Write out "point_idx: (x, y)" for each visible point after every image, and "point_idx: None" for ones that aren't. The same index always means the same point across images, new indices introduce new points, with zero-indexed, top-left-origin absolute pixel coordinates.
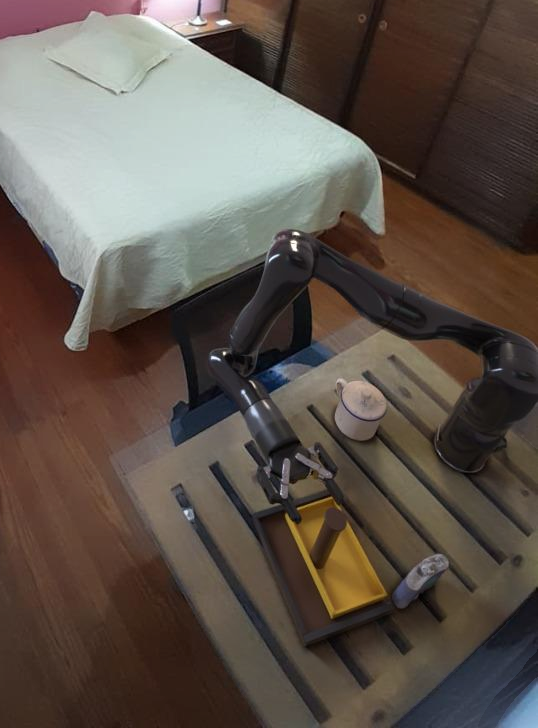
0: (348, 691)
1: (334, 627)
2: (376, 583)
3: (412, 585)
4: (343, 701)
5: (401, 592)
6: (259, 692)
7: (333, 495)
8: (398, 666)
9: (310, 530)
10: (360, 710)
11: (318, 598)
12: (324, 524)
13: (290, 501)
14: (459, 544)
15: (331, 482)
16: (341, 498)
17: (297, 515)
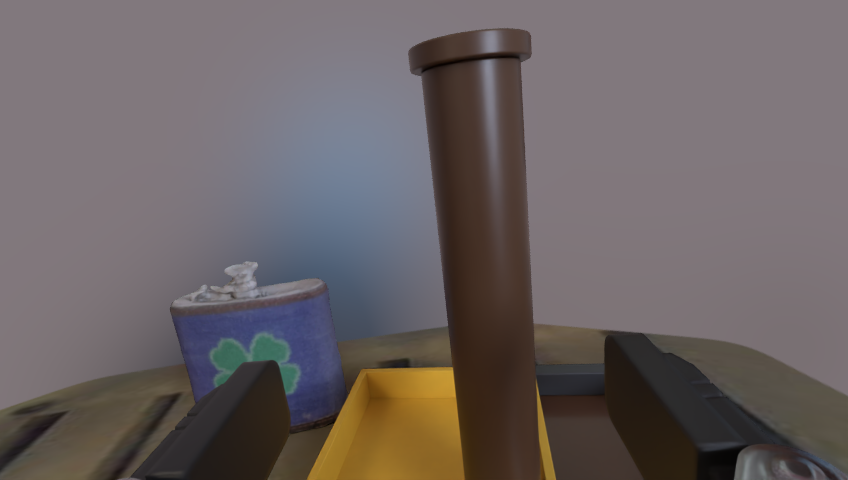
0: (550, 344)
1: (541, 369)
2: (360, 406)
3: (313, 281)
4: (567, 338)
5: (334, 336)
6: (778, 367)
7: (259, 442)
8: (430, 350)
9: None
10: (539, 329)
11: (554, 448)
12: (521, 120)
13: (697, 420)
14: (56, 461)
15: (175, 453)
16: (253, 361)
17: (641, 339)
